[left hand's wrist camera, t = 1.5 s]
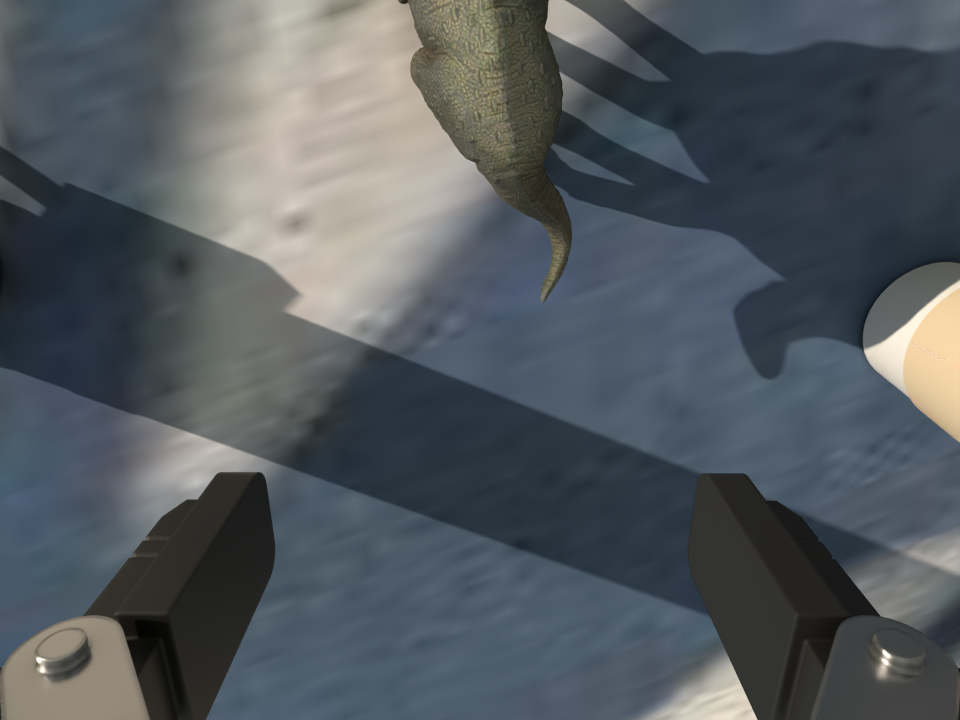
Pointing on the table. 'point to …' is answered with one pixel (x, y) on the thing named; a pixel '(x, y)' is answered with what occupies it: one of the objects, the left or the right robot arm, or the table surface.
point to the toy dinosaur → (497, 100)
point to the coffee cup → (920, 340)
